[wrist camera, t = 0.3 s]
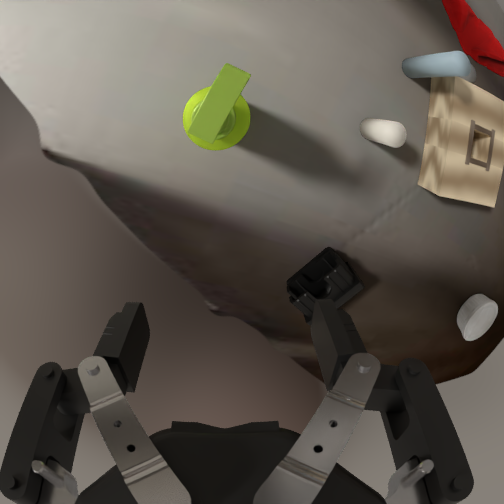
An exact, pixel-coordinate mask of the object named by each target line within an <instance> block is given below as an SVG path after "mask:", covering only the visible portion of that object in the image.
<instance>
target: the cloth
mask: <svg viewBox="0 0 504 504" xmlns="http://www.w3.org/2000/svg"><path fill="white" fill-rule="evenodd" d="M442 2H443V5H444V7H445V10H446V12H447V14H448V16H449V19H450V22H451V24H452V27H453V29H454V30H455V31H456V33H457V36H458V39H459V42H460V44H461V47H462V49H463V51H464V52H465V54H466V55H470V56H471V57H472V58H473V60H475V61H476V62H478V63H479V64H481V65H483V66H487V69H489V70H491V71H493V72H495V73H497V74H499V75H500V76H502V77H504V50H503V48H502V46H501V44H500V43H499V41H498V40H497V39H496V38H495V37H494V35H493V33H492V31H491V30H490V29H489V28H488V27H487V26H486V25H485V24H484V23H483V22H482V21H481V20H480V19H478V18H477V17H476V15H475V14H474V12H473V11H472V9H471V8H470V6H469V5H468V4H467V3H466V1H465V0H442Z"/></svg>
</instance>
